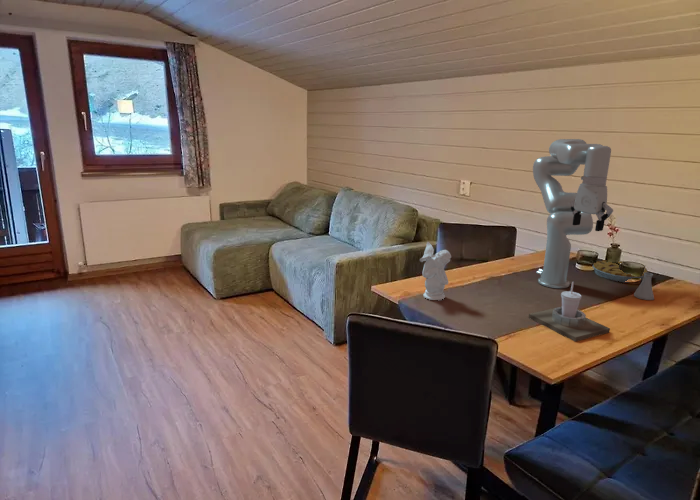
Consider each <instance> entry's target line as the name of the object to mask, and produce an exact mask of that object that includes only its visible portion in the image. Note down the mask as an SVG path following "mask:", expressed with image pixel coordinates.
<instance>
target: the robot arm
mask: <svg viewBox="0 0 700 500" xmlns="http://www.w3.org/2000/svg"><path fill="white" fill-rule="evenodd" d="M548 153H549V156H547V155H546V156H540V157H538V158H537V159H535V160H534V161H533V163H532V164H533V165H532V175H533V179H534V181H535V182H534V183H536V185H537V188H539V190H540V192H541V196H542V200H543V203H544V206H545V209H546V211H547V212H548V213H549V215H548V216H547V219H546V231H547V235H546V237H547V238H546V243H545V244H546V245H545V254H544V261H543V268H539V269H538V270H537V271H536V274H538V275H540V277H538V279H537V282H538V284H539V285H542V286H543V287H548V288H552V289H567V288H568V287H570V286H571V285H570V281H569V280H567V279H568V278H567V277H568V271H569V265H570V264H569V263H570V256H571V249H572V244H571V242H570V240H569V239H568V238H567V235H568V236H570V235H574V236H575V235H577V236H578V235H579V236H581V235H588V234H589V233H591V232H592V230H593V228H594V220H593V216H592V215H595V216H596V217H597V220H596V221H595V228H594V230H595V232H602V231H604V226H605V221H606V220H607V219H608V218H610V217H611V214H613V212H614V209H613V208H612V207H611V206H610V205H608V186H607V179H608V175H609V174H608V173H609V167H610V161H611V160H610V159H611V156H612V148H611V147H610V146H608V145H603V144H600V143H587V141H585V140H584V139H580V138H560V139H556V140H554V141H552V143H551V144H550V145H549V148H548ZM580 165H581V166H582V165H584V169H583V176H581V177H580V179H581V181H582V183H580V184H579V186H578V189H577V191H576V192H566V191H564V189H563V186H562V185H561V184H562V183H560V182H559V180H557V179H556V178H554V177H555V176H558V177H560V176H561V177H563V176H565V177H566V176H567V177H568V176H572V175H573V174H575V172H577V170H578V168H579V167H580Z"/></svg>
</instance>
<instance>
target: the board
mask: <svg viewBox="0 0 700 500" xmlns="http://www.w3.org/2000/svg"><path fill="white" fill-rule="evenodd" d="M558 307H559V306H558ZM558 307H556V308H558ZM554 308H555V307H554ZM554 308H549V309H544V310H540V311H535V312H531V313H528V317H529V319H530V318H531V319H530V320H533V321H535V322H536V323H538V324H540V325H542V326H544V327H546V328H548V329H549V330H552V331H553V332H555V333H557V334H559V335H561V336H563V337H565V338H567V339H569V340H571V341H573V342H579V341H583V340H587V339H590V338H594V337H598V336H601V335H605V334H608V333H610V330H611V328H609V327H608V326H605V325H603V324H601V323H599V322H597V321H595V320H592V319H590V318H588V317H585V323H584V325H583V326H581V327H567V326H563V325H560V324H558V323H556V322H554V321H553V319H552V314H553V310H554Z"/></svg>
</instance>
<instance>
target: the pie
mask: <svg viewBox="0 0 700 500" xmlns="http://www.w3.org/2000/svg"><path fill="white" fill-rule="evenodd" d="M606 261H607V260H606V259H604V260H601V261H600V260H597V261H596V262H593V264H592V269H593V270H594V273H595V274H596V275H597V276H599V277H600V278H604V279H606V280H609V281H613V282H618V281H619V283H620V282H621V283H626V282H625V281H627V280H628V279H631V278H641V279H642V280H643V278H644V273H649V271H648V270H647V268H646V267H644V268H645V270H644V272H643V274H642V276H640V277H633V276H631V274H626V273H624V272H623V271H622V270H620V269H619V265H618V264H616V263H612V262H608V263H607V262H606ZM619 261H620V262H619ZM619 261H618V263H619V264H620V263H622V262H624V261H621V260H619ZM642 280H641V281H642Z"/></svg>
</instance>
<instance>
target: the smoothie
mask: <svg viewBox="0 0 700 500" xmlns="http://www.w3.org/2000/svg"><path fill="white" fill-rule="evenodd" d="M574 283H575V282H574V281H572V282H571V285H570V286H571V287H570V290H568V291H562V292H561V293H560V297H561V307H562V316H565V317H570V318H575V315H576V312H577V310H578V308H579V305H580V303H581V302H580V301H581V300H582V295H581V294H580V293H579V292H576V291H574Z"/></svg>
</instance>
